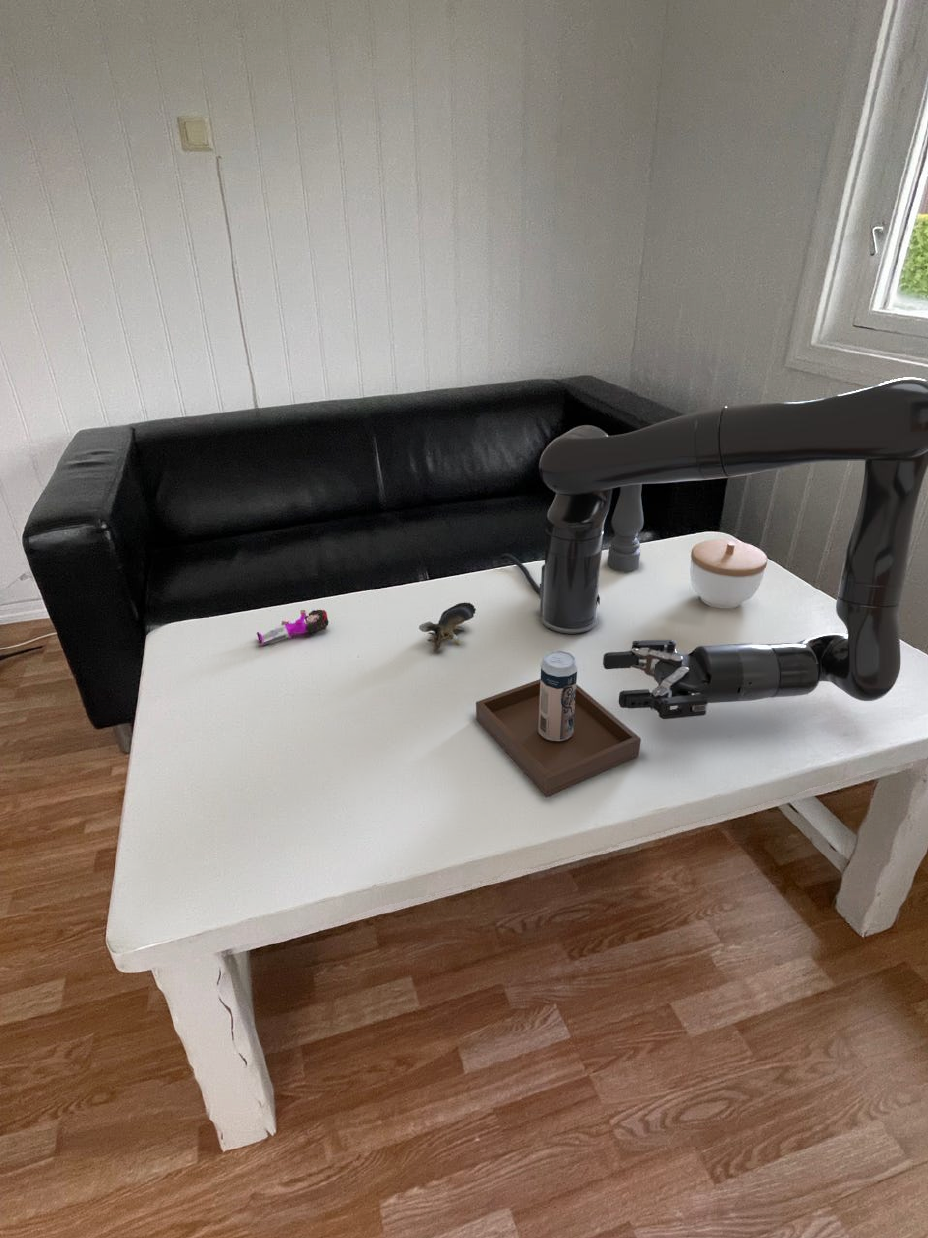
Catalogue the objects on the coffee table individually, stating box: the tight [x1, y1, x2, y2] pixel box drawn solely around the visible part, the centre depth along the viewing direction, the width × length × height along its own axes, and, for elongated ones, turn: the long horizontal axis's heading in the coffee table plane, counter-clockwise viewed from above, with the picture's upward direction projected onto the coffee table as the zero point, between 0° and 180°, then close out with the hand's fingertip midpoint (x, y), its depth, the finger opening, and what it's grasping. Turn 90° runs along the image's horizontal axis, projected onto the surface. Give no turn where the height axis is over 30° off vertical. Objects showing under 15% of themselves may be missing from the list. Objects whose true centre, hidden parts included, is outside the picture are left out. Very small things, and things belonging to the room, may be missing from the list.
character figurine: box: [256, 609, 330, 647], centre depth 118 cm, size 6×5×12 cm
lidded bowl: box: [689, 539, 768, 610], centre depth 124 cm, size 13×13×11 cm
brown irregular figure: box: [418, 601, 477, 653], centre depth 115 cm, size 8×7×9 cm
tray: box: [475, 678, 642, 797], centre depth 94 cm, size 18×15×3 cm
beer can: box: [538, 650, 579, 741], centre depth 92 cm, size 5×5×12 cm
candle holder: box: [606, 484, 645, 573], centre depth 133 cm, size 6×6×25 cm
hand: (611, 679), depth 91 cm, fingers open, 8 cm apart
